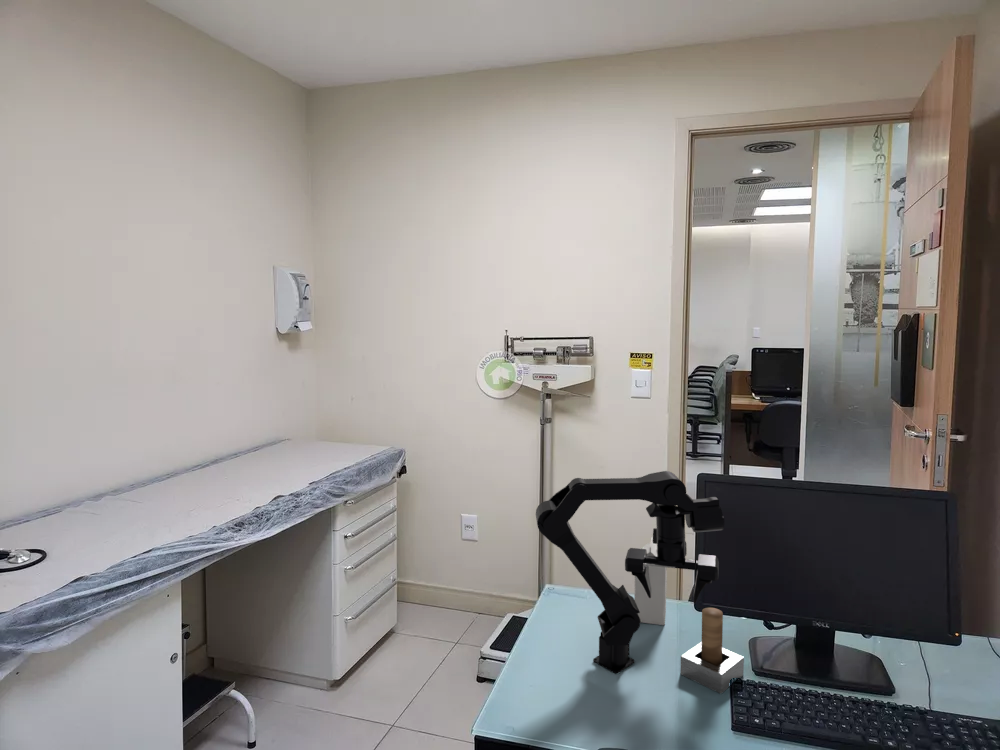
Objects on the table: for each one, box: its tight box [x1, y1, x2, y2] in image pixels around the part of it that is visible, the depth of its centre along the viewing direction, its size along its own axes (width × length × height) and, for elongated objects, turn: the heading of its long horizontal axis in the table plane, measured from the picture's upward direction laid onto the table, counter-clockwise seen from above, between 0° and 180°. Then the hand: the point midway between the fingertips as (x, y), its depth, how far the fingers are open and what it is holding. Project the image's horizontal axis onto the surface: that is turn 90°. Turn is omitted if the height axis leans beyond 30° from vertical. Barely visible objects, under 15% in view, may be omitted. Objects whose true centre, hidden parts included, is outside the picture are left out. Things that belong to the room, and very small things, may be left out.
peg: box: [701, 607, 724, 667], centre depth 129 cm, size 4×4×13 cm
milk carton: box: [633, 536, 668, 626], centre depth 152 cm, size 7×7×19 cm
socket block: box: [679, 641, 745, 695], centre depth 129 cm, size 9×9×4 cm
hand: (672, 599), depth 135 cm, fingers open, 9 cm apart
